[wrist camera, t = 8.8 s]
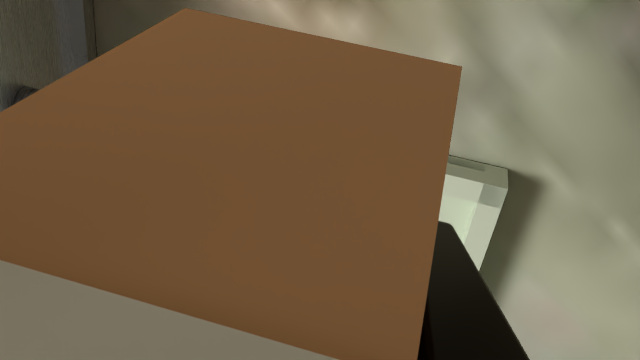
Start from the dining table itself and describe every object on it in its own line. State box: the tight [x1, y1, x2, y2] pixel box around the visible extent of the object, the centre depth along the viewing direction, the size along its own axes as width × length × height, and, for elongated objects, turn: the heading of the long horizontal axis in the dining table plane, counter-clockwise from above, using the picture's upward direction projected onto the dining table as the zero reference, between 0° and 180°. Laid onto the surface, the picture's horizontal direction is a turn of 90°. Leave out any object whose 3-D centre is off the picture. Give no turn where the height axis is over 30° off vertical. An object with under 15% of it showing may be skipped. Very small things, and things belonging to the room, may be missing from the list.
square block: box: [0, 8, 462, 360], centre depth 8 cm, size 5×5×7 cm
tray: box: [438, 155, 508, 271], centre depth 24 cm, size 12×11×1 cm
